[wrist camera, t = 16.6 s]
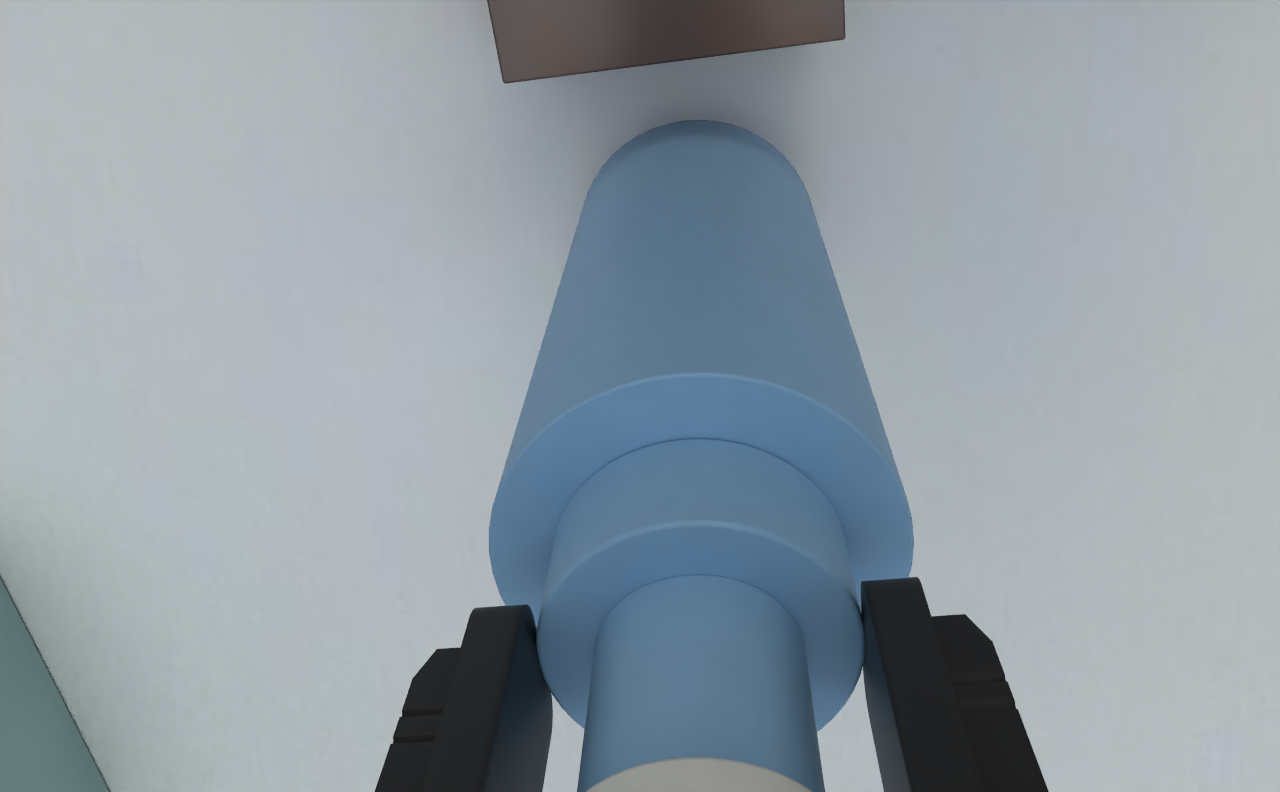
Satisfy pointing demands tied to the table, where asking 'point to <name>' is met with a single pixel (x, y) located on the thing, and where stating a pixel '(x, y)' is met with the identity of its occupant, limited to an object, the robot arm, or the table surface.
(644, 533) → the bottle
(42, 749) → the planter
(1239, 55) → the table surface
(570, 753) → the table surface
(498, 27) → the dark brown cuboids
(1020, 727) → the robot arm
